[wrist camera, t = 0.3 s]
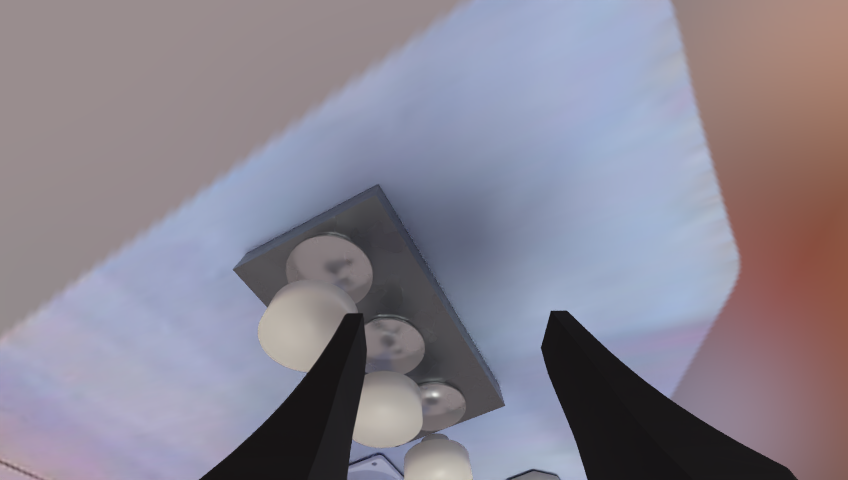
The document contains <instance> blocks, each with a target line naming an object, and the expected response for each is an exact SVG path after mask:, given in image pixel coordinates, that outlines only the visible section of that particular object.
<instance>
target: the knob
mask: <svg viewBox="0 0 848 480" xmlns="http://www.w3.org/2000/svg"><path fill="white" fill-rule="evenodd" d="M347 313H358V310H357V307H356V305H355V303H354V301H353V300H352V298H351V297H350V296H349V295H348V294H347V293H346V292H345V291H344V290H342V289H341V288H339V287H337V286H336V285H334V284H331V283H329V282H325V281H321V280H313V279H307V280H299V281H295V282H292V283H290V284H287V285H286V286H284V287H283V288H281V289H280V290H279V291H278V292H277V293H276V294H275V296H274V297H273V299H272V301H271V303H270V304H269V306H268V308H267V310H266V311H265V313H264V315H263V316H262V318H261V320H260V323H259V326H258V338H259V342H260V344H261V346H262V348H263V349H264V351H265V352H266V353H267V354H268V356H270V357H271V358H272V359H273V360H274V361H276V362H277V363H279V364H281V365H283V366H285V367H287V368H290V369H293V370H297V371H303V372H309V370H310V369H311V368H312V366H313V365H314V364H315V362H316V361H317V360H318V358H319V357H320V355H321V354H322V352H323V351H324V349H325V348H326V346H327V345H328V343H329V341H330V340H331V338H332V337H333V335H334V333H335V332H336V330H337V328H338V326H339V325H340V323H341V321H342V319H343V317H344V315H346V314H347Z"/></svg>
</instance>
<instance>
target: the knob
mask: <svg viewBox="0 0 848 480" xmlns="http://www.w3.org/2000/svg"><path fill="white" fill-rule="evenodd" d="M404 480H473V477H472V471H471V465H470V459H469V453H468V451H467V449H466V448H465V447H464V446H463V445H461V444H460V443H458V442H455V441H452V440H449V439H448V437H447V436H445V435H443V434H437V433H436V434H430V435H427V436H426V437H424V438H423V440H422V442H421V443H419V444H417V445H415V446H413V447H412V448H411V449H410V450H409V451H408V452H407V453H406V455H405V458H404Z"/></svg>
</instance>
